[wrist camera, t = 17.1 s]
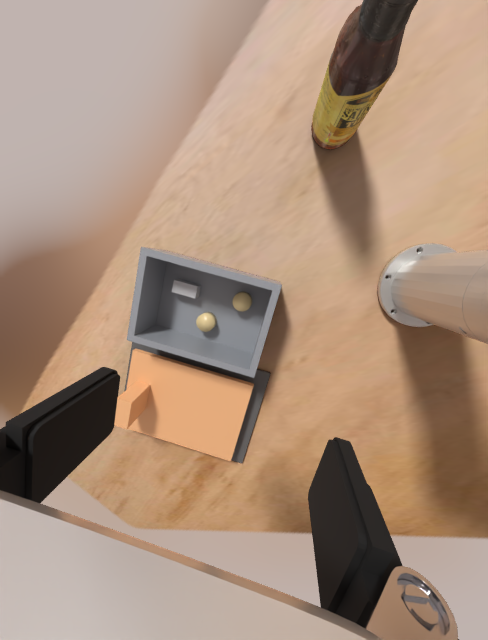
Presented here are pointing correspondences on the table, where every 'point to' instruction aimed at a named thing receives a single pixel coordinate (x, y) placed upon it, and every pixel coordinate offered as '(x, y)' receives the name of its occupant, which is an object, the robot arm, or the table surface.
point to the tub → (201, 310)
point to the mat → (258, 380)
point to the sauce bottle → (359, 68)
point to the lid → (183, 404)
